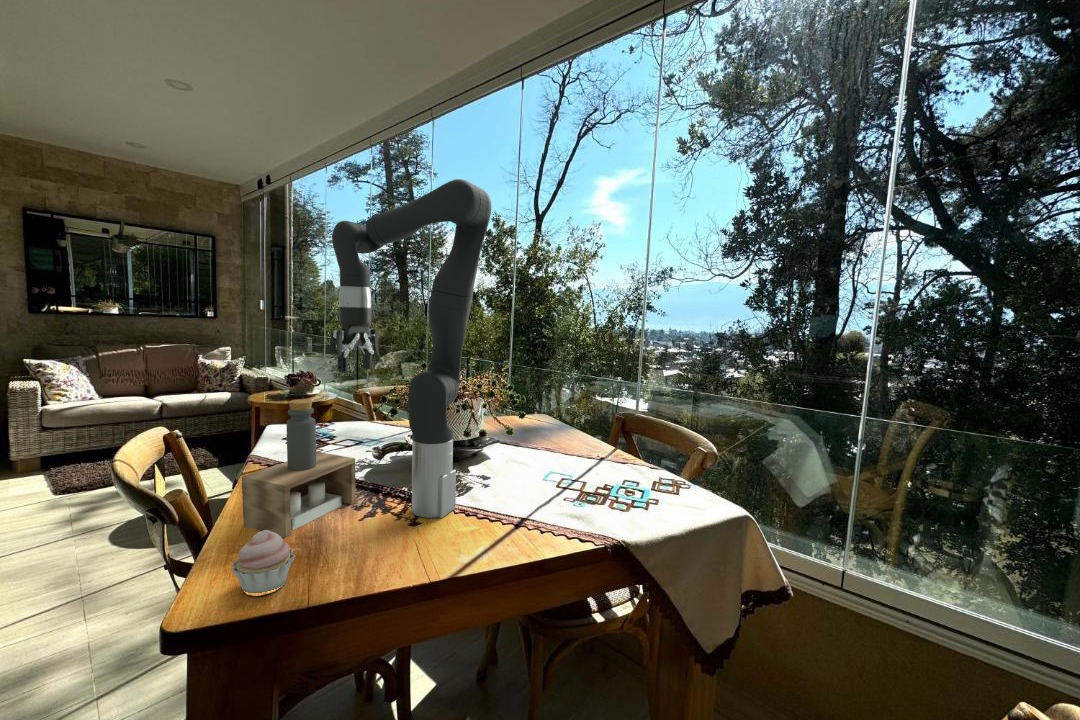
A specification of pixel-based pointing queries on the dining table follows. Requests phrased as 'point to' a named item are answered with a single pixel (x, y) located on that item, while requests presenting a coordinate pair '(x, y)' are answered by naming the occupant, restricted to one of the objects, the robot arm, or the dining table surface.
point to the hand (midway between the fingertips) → (355, 370)
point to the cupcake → (263, 563)
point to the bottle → (301, 436)
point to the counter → (292, 490)
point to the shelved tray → (316, 510)
